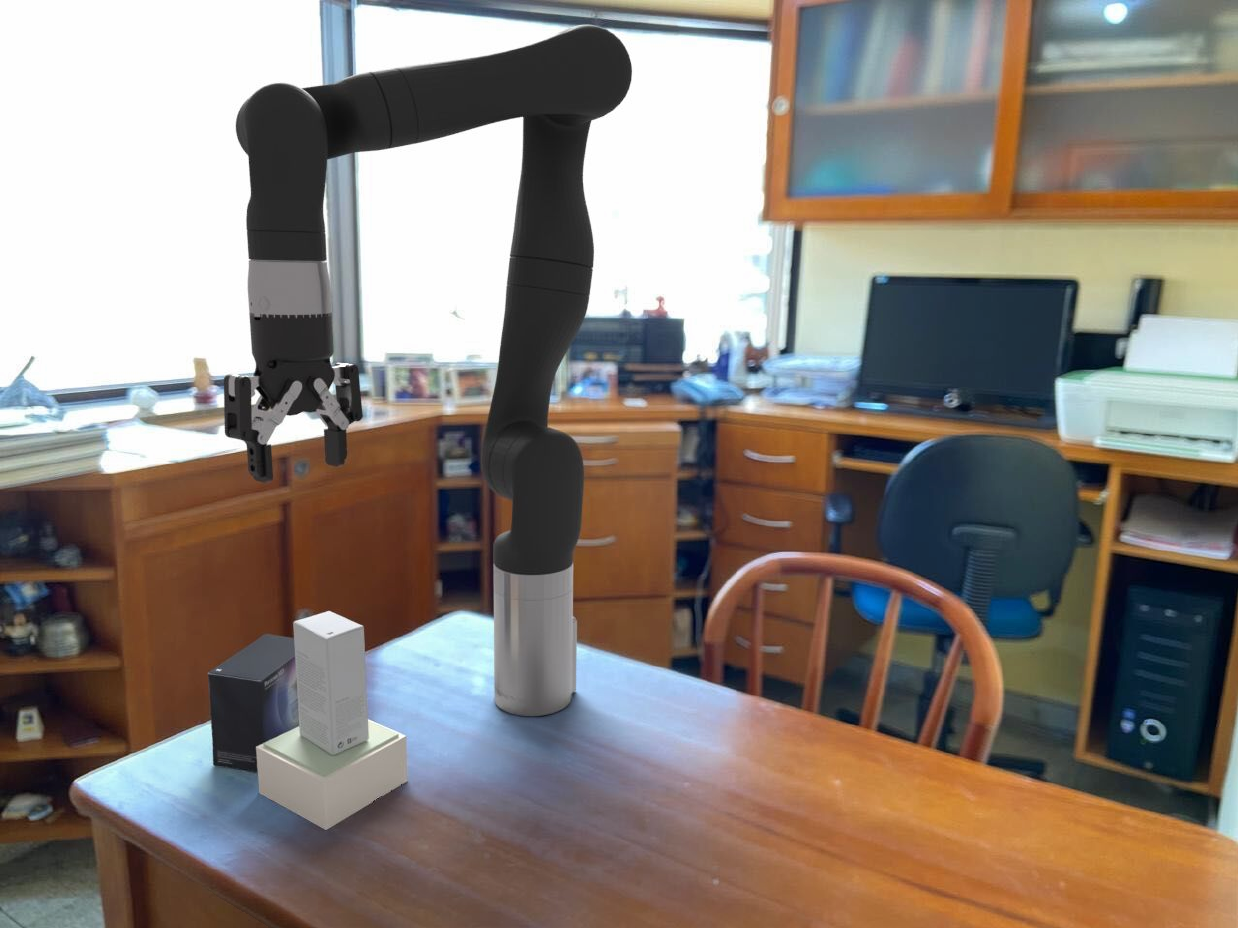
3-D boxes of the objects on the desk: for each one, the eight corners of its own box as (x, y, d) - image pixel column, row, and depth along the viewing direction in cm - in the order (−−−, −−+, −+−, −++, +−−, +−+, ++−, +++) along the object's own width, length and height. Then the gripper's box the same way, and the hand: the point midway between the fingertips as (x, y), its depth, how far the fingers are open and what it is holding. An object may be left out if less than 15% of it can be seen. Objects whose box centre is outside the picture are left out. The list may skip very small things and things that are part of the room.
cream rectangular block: (341, 749, 98) (339, 704, 97) (407, 780, 92) (406, 732, 91) (259, 792, 90) (255, 743, 89) (325, 829, 84) (323, 778, 83)
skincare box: (370, 740, 90) (366, 625, 87) (332, 757, 87) (326, 639, 84) (335, 719, 94) (330, 608, 91) (297, 734, 90) (290, 621, 88)
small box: (268, 776, 93) (261, 680, 90) (210, 767, 94) (202, 673, 92) (321, 725, 103) (317, 637, 100) (269, 718, 104) (263, 631, 102)
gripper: (326, 304, 96) (333, 455, 100) (199, 309, 85) (212, 480, 88) (375, 308, 92) (381, 465, 96) (248, 314, 80) (260, 493, 84)
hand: (300, 472), depth 92 cm, fingers open, 8 cm apart
